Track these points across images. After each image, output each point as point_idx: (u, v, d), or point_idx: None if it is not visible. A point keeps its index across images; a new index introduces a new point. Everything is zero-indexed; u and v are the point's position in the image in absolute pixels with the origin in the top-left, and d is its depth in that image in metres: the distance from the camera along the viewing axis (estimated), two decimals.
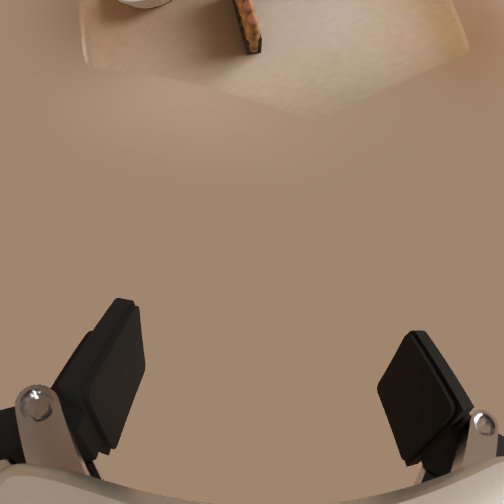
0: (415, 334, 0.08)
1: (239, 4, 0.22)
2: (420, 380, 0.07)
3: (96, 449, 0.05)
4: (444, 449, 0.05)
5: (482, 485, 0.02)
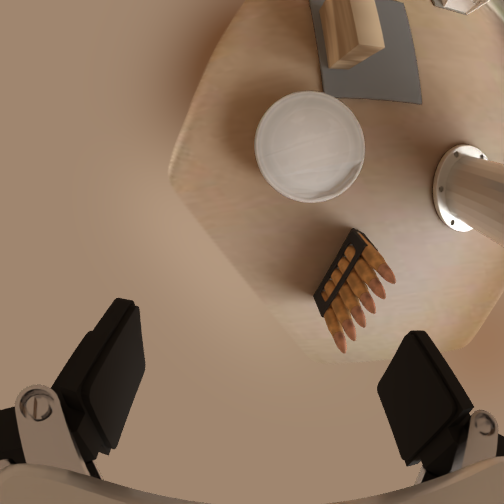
0: (415, 334, 0.08)
1: (347, 304, 0.29)
2: (420, 380, 0.07)
3: (96, 449, 0.05)
4: (444, 449, 0.05)
5: (482, 485, 0.02)
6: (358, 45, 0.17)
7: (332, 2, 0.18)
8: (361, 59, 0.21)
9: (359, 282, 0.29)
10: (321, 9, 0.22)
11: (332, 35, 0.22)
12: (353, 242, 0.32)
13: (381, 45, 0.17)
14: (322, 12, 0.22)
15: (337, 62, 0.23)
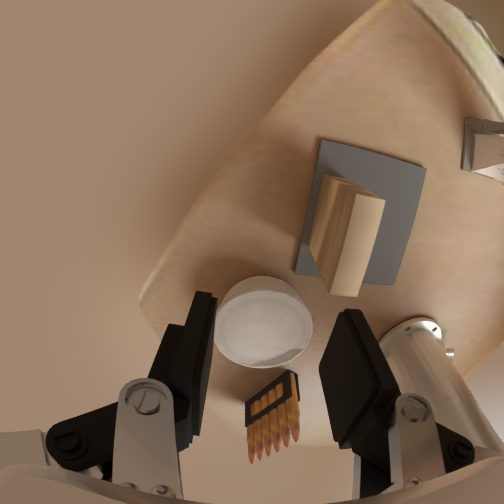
0: (348, 312, 0.09)
1: (263, 433, 0.34)
2: (348, 357, 0.08)
3: (189, 437, 0.06)
4: (369, 432, 0.06)
5: (482, 485, 0.02)
6: (329, 291, 0.22)
7: (335, 200, 0.23)
8: None
9: (276, 422, 0.33)
10: (325, 178, 0.27)
11: (321, 229, 0.26)
12: (284, 384, 0.37)
13: (354, 294, 0.22)
14: (324, 184, 0.27)
15: None
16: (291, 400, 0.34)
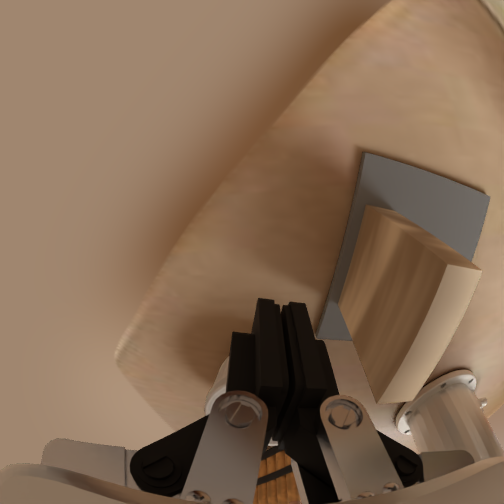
0: (290, 305, 0.09)
1: (268, 501, 0.24)
2: None
3: None
4: (296, 433, 0.06)
5: (482, 485, 0.02)
6: (375, 398, 0.12)
7: (393, 255, 0.14)
8: None
9: (284, 492, 0.24)
10: (370, 212, 0.17)
11: (363, 290, 0.17)
12: None
13: (409, 399, 0.12)
14: (369, 220, 0.17)
15: None
16: None
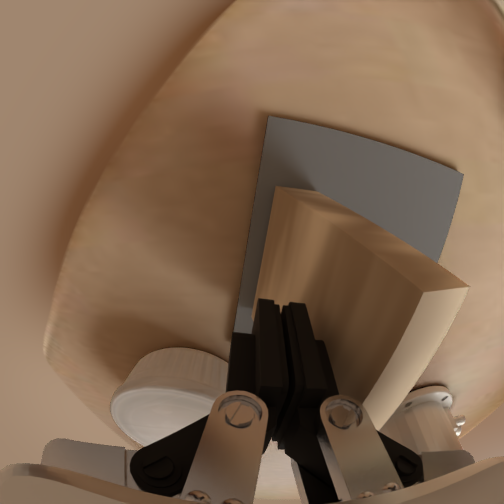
0: (290, 305, 0.09)
1: None
2: None
3: None
4: (296, 433, 0.06)
5: (482, 485, 0.02)
6: None
7: (320, 262, 0.10)
8: None
9: None
10: (282, 197, 0.13)
11: (281, 306, 0.13)
12: None
13: None
14: (281, 208, 0.13)
15: None
16: None
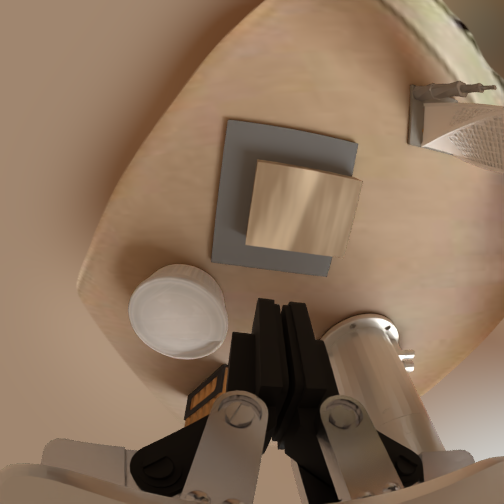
0: (290, 305, 0.09)
1: None
2: None
3: None
4: (296, 433, 0.06)
5: (482, 485, 0.02)
6: (339, 257, 0.28)
7: (315, 187, 0.25)
8: None
9: None
10: (269, 166, 0.25)
11: (286, 218, 0.26)
12: (218, 378, 0.36)
13: None
14: (270, 172, 0.25)
15: (277, 248, 0.28)
16: None
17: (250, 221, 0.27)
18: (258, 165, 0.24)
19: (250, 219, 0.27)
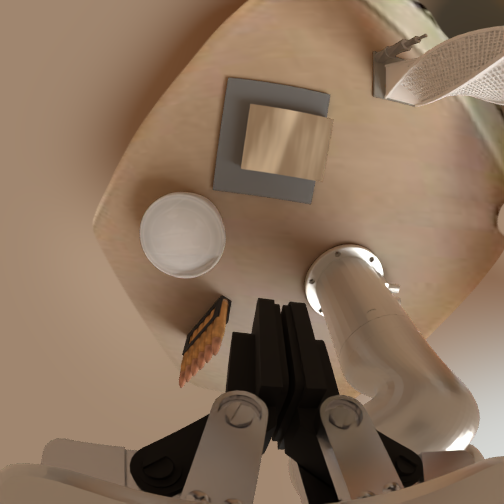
0: (290, 305, 0.09)
1: (192, 354, 0.38)
2: None
3: None
4: (296, 433, 0.06)
5: (482, 485, 0.02)
6: (319, 181, 0.34)
7: (295, 123, 0.31)
8: None
9: (204, 342, 0.38)
10: (259, 107, 0.30)
11: (273, 147, 0.32)
12: (216, 307, 0.42)
13: None
14: (260, 112, 0.30)
15: None
16: (218, 319, 0.38)
17: (244, 149, 0.32)
18: (250, 106, 0.30)
19: (244, 147, 0.32)
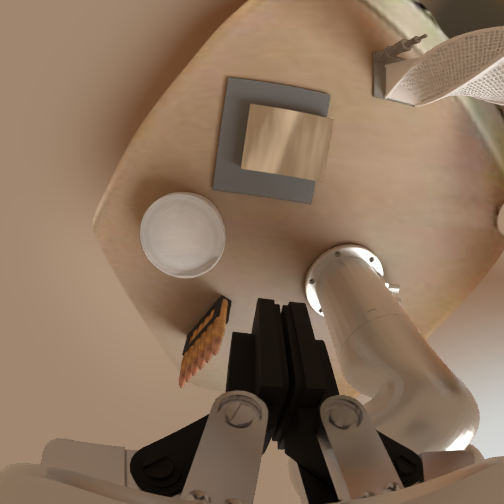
0: (290, 305, 0.09)
1: (193, 354, 0.38)
2: None
3: None
4: (296, 433, 0.06)
5: (482, 485, 0.02)
6: (319, 181, 0.34)
7: (295, 123, 0.31)
8: None
9: (204, 342, 0.38)
10: (259, 107, 0.30)
11: (273, 147, 0.32)
12: (216, 307, 0.42)
13: None
14: (260, 112, 0.30)
15: None
16: (218, 319, 0.38)
17: (244, 149, 0.32)
18: (250, 106, 0.30)
19: (244, 147, 0.32)
